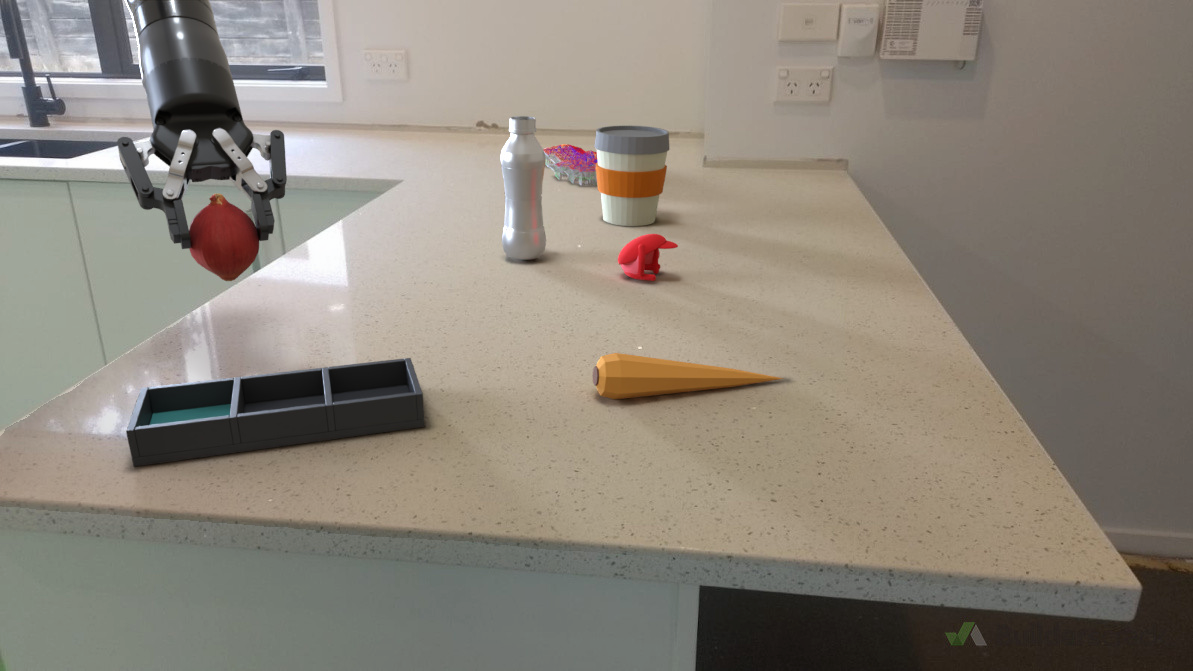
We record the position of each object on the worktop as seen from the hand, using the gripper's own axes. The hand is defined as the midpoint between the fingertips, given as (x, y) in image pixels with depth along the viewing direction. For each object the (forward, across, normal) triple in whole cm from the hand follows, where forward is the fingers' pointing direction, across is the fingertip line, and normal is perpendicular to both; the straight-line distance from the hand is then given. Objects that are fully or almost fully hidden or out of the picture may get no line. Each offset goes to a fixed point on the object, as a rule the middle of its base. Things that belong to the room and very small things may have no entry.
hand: (226, 239), depth 72 cm
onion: (+2, 0, +4) cm, 5 cm away
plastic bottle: (-10, +43, +32) cm, 55 cm away
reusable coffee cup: (-19, +69, +41) cm, 82 cm away
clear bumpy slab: (-46, +80, +68) cm, 115 cm away
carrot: (+23, +39, -1) cm, 45 cm away
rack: (+15, +2, +7) cm, 17 cm away
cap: (+1, +54, +22) cm, 58 cm away
